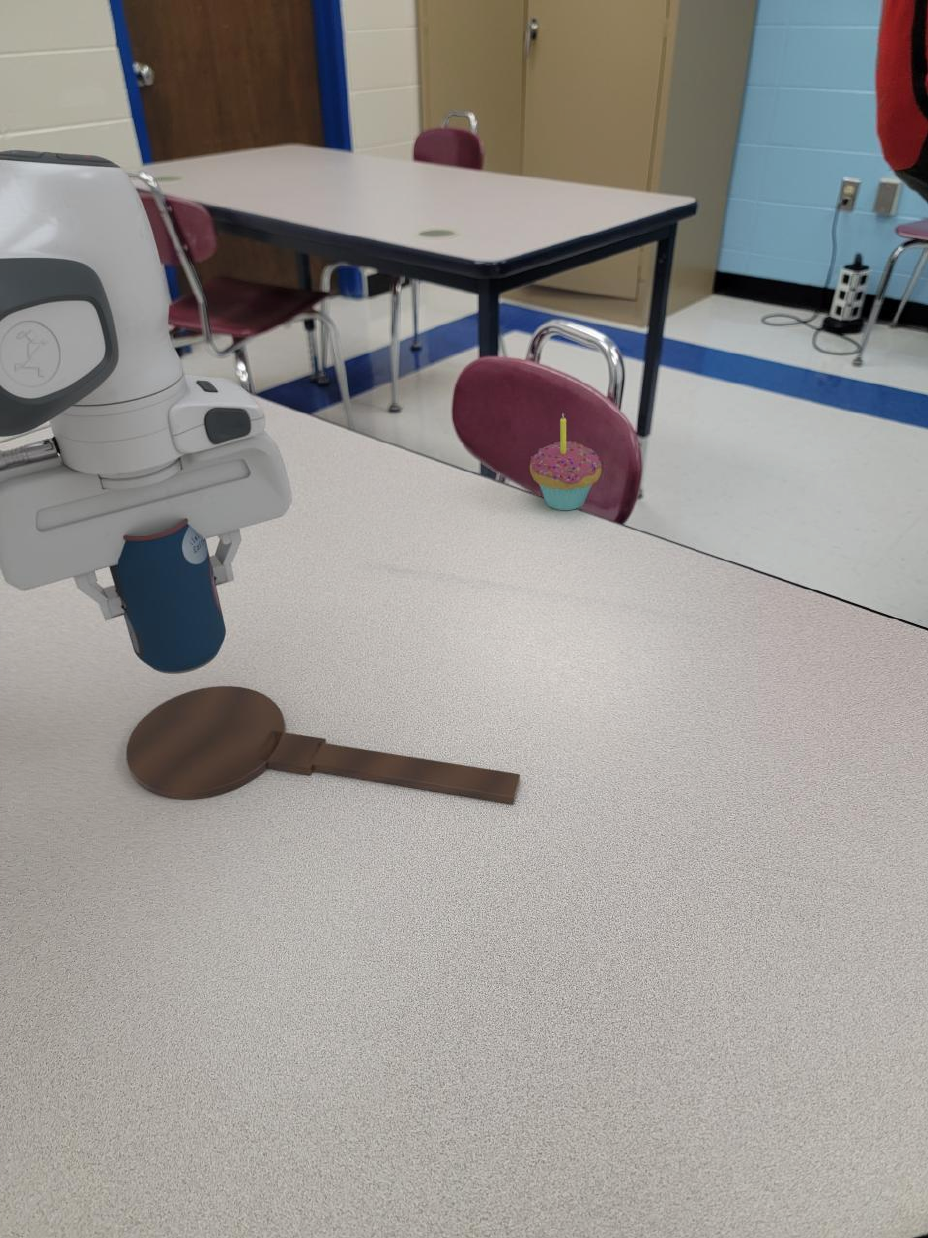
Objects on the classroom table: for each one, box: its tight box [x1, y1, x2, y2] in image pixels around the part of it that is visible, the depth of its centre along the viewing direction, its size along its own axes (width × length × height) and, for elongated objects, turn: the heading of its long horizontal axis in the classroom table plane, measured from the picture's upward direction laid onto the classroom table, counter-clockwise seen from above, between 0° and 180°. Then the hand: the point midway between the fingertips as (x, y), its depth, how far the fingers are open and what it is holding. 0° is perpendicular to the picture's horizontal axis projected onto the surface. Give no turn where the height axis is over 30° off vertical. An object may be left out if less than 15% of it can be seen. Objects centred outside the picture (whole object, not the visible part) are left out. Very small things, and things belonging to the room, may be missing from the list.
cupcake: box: [529, 412, 603, 511], centre depth 105 cm, size 9×8×12 cm
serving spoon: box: [125, 685, 521, 805], centre depth 74 cm, size 33×13×1 cm, turn 76°
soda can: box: [108, 518, 227, 675], centre depth 67 cm, size 7×7×12 cm
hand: (169, 596), depth 67 cm, fingers closed on soda can, 7 cm apart
